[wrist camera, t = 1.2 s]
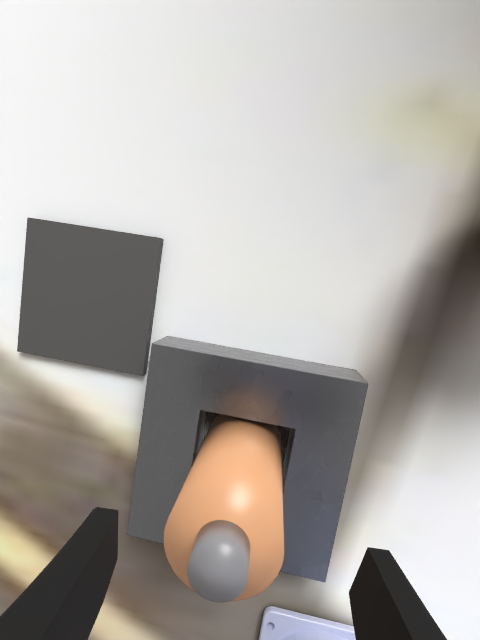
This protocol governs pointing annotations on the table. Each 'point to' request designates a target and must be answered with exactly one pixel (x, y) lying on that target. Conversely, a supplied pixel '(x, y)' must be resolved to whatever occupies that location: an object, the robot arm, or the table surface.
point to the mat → (88, 295)
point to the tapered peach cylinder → (230, 513)
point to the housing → (258, 405)
